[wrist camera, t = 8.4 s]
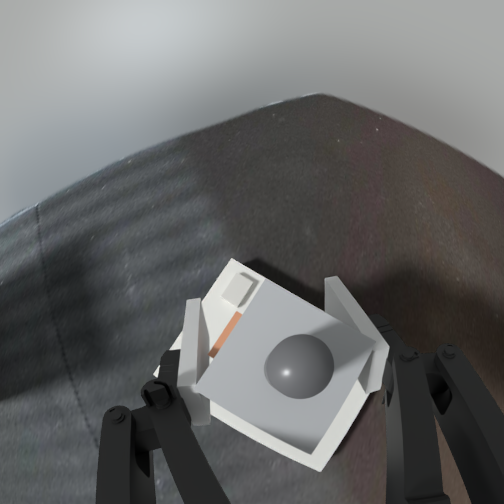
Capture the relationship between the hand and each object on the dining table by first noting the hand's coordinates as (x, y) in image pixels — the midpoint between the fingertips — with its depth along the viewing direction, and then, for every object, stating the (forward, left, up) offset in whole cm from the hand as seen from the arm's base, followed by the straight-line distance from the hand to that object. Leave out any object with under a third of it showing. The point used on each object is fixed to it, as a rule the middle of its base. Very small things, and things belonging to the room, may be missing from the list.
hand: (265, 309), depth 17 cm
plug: (-2, +3, -4) cm, 5 cm away
